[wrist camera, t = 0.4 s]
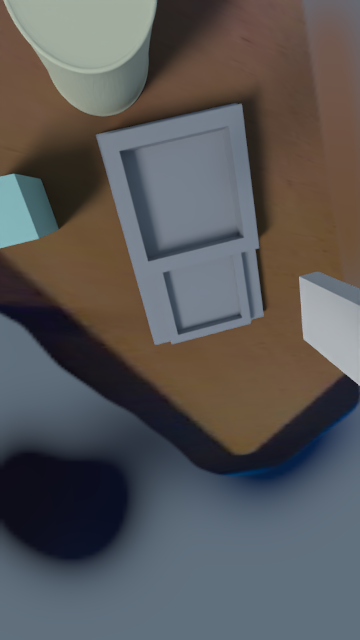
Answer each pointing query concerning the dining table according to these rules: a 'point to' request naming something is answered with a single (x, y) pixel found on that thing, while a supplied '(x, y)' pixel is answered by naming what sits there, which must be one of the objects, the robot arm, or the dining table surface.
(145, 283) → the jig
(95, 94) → the can
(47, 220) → the block
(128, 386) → the dining table surface
